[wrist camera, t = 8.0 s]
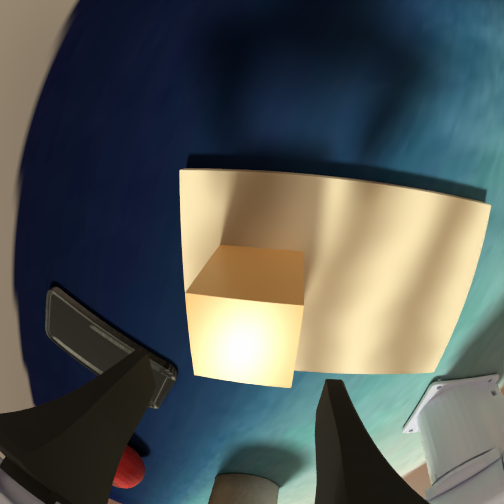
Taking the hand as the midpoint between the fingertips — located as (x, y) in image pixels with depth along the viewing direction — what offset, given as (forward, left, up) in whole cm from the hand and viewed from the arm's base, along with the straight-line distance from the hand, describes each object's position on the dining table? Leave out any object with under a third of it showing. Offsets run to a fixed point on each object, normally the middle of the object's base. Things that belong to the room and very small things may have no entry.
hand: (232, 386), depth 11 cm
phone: (+15, +10, -10) cm, 21 cm away
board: (-5, 0, -9) cm, 11 cm away
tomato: (+19, +32, -10) cm, 38 cm away
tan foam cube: (0, 0, -8) cm, 8 cm away
